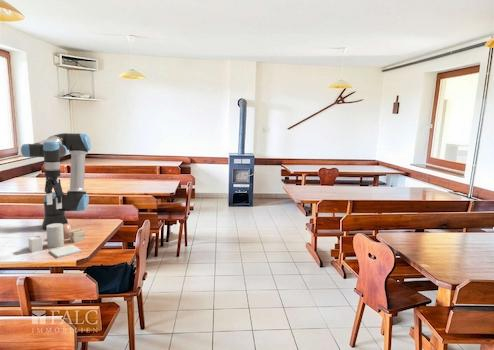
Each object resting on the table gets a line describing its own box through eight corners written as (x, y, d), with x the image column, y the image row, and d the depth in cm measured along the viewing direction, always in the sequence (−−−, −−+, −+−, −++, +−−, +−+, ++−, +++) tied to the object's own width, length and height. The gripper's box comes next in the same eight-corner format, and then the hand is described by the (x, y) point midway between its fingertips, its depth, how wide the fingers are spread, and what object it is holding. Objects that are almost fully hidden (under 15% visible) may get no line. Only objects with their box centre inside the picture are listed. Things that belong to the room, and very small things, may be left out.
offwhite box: (29, 250, 176) (28, 237, 175) (39, 247, 180) (38, 235, 179) (32, 252, 173) (31, 240, 172) (42, 250, 177) (41, 238, 176)
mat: (49, 251, 174) (49, 250, 174) (72, 246, 183) (72, 244, 183) (57, 258, 167) (57, 256, 166) (81, 251, 176) (81, 250, 176)
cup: (56, 248, 179) (55, 228, 177) (44, 247, 181) (42, 226, 179) (67, 243, 187) (66, 224, 185) (55, 242, 189) (54, 222, 187)
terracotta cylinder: (58, 237, 197) (57, 225, 195) (68, 235, 201) (68, 223, 200) (62, 239, 193) (61, 227, 192) (72, 237, 197) (72, 225, 196)
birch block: (70, 240, 193) (69, 230, 192) (80, 238, 197) (80, 228, 196) (74, 243, 189) (74, 233, 188) (84, 240, 193) (84, 231, 192)
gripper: (36, 167, 183) (38, 203, 186) (53, 172, 167) (55, 211, 170) (51, 166, 189) (53, 202, 191) (68, 171, 173) (70, 209, 176)
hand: (54, 206), depth 181 cm, fingers open, 13 cm apart
